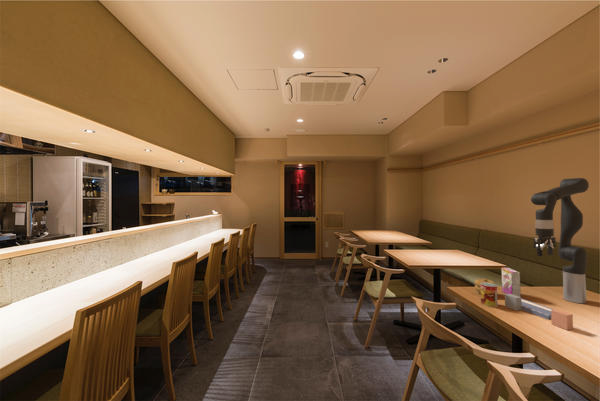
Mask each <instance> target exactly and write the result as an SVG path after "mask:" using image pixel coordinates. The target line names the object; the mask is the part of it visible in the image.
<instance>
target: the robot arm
mask: <svg viewBox="0 0 600 401" xmlns="http://www.w3.org/2000/svg"><path fill="white" fill-rule="evenodd" d="M589 185H590V184H589V181H588V179H586V178H584V177H583V178H582V177H576V178H564V179H562V180H561V181H560V183H559V186H556V187H553V188H550V189H548V190H543V191H540V192H536V193H534V194H533V195H532V196H531V197H530V201H531V203H532V204H533V205H535V206H544V208H540V209H537V210H536V211H535V221H534V222H535V224H534V225H535V235H536V236H537V237H533V249H535V250H536V256H538V257H543V254H544V253H543V249H544V248H545V247H546V248H547V256H553V255H554V248H557V241H556V237H554V236H555V227H554V211H555V210H554V209H555V207H556V205H557V202H558V200H560V204H561V206H560V238H559V244H558V250H557V252H558V253H557V254H558V256H559V258H560V259H561V260H562V261H563V260H564V261H570V262H572V264H571V265H565V266H562V288H563V290H562V291H563V293H562V294H563V295H562V297H563V300H566V301H567V302H571V303H576V304H587V285H586V283H587V282H586V281H587V280H586V270H587V265H588V264H587V262H588V261H587V260H588V253H587V250H586V249H585V248H583V247H580V246H573V245H572V240H573V237H574V236H575V235H576V234H577V233H578V232H579V231H580V230H581V229H582V227H583V223H584V216H583V215H584V214H583V213H582V211H581V210H580V209H579V207H577V206H576V205H575V203H574V201H573V199H572V195H575V194H581V193H585V192H586V191H588V190H589V187H590V186H589Z"/></svg>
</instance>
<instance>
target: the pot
mask: <svg viewBox="0 0 600 401" xmlns="http://www.w3.org/2000/svg"><path fill="white" fill-rule="evenodd" d="M481 282H488V283H493V284H496V282H495V281H493V280H490V279H487V278H478V279H476V280H475V281H474V284H475V285H474V289H475V291H476V292H477V293H479V294H481V284H480V283H481Z"/></svg>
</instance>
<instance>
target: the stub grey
mask: <svg viewBox="0 0 600 401" xmlns="http://www.w3.org/2000/svg"><path fill="white" fill-rule="evenodd" d="M521 298H522V297H519V296H516V295H513V294H506V293H504V306H505V308H506V307H507V308H509V309H511V310H514V311H523V310H522V304H521Z"/></svg>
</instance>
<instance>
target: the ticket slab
mask: <svg viewBox="0 0 600 401" xmlns="http://www.w3.org/2000/svg"><path fill="white" fill-rule="evenodd" d="M521 304H522V310H521V311H525V312H526V313H527V312H528V313H530V314H532V315H535V316H538V317H540V318H542V319H545V320H548V321H549V320H551V310H555V308H552V307H548V306H545V305H542V304H540V303H537V302H533V301H530V300H526V299H524V298H522V297H521Z"/></svg>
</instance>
